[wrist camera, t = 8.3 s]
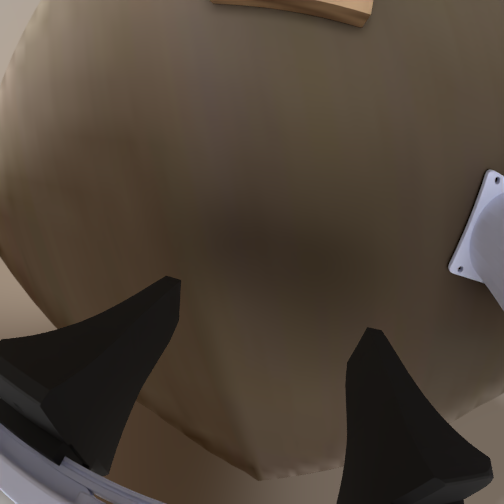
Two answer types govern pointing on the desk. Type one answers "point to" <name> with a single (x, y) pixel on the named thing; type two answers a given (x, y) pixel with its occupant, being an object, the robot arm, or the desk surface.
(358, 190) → the desk surface
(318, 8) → the bead block
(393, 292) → the desk surface
